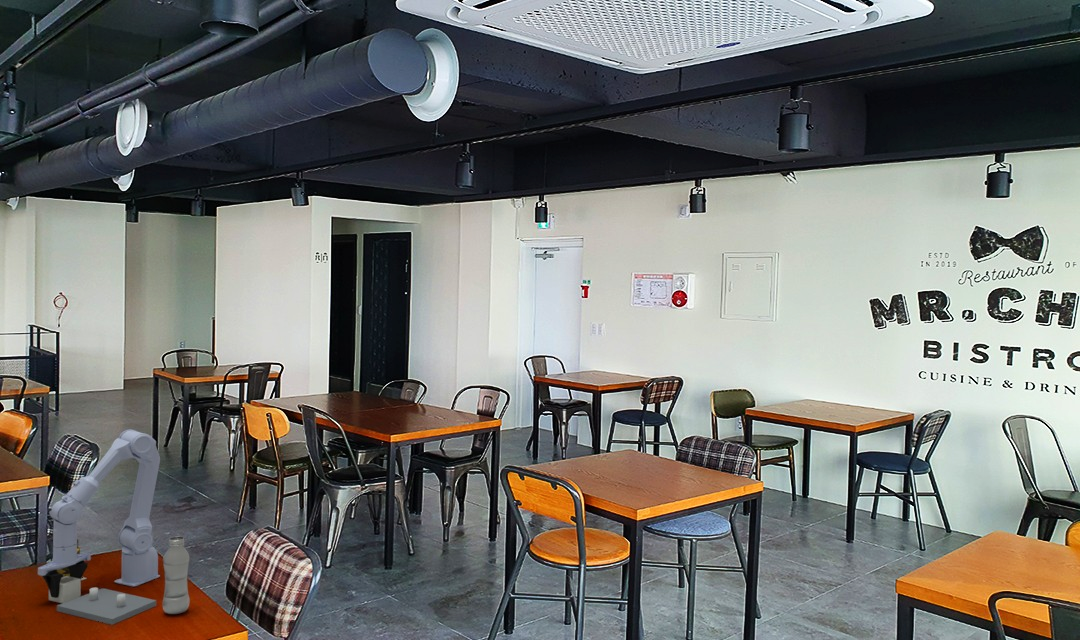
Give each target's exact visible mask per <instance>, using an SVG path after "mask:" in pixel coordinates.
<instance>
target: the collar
mask: <svg viewBox="0 0 1080 640" xmlns="http://www.w3.org/2000/svg"><path fill="white" fill-rule="evenodd" d="M81 581H82V580H81V579H79V578H75V577H70V576H65V577H62V578H61V580H60V586H59V597H57V598H54V597H51V594H50V591H49V590H48V601H51V602H54V603H55V602H56V603H60V604H62V603H65V602H68V601H70V600H73V599H75V598H78V597H81V596H82V595H81V592H82V591H81V589H82V588H81V587H82V583H81Z"/></svg>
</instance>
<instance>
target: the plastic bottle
mask: <svg viewBox="0 0 1080 640" xmlns="http://www.w3.org/2000/svg"><path fill="white" fill-rule="evenodd" d="M184 545H185V537H184V536H172V537H169V539H168V547H169V548H168V549H167V550H166V552H165V553H164V555H163V558H162V563H163V569H164V594H163V599H162V605H161V606H162V611H164V613H165V614H168V615H179V614H183V613H185V612H186V611H187V610H188V609H189V606H190V603H191V602H190V595H189V589H188V570H189V563H190V554H189V552H188V551H187V549H186V547H184Z"/></svg>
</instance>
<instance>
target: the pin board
mask: <svg viewBox="0 0 1080 640" xmlns="http://www.w3.org/2000/svg"><path fill="white" fill-rule="evenodd" d="M154 607H157V599H151V598H148V597H144V596H138V595H134V594H130V593H125V592H121V591H117V590H112V589H108V588H104V587H103V588H99V587H91V588H89V593H86V594H84V595H81V597H78V598H75V599H73V600H70V601H68V602H65V603H60V604H57V605H56V612H59V613H63V614H68V615H71V616H75V617H79V618H83V619H86V620H90V621H91V620H92V621H96V622H98V621H99V623H102V622H103V624H106V625H111V626H113V625H115V624H117V623H120V622H123V621H125V620H127V619H130V618H131V617H134V616H136V615H138V614H140V613H143V612H145V611H148V610H150V609H153V608H154Z"/></svg>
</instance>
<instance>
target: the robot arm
mask: <svg viewBox="0 0 1080 640" xmlns="http://www.w3.org/2000/svg"><path fill="white" fill-rule="evenodd" d="M132 458H134V459H135V460H136V461H137V462H138V463H139V465H138V470H137V475H136V480H135V484H134V485H135V486H134V490H133V496H132V499H131V501H132V502H131V505H130V510H129V516H128V517H127V518H126V519H125V520H124V523H123V526H122V528H121V529H120V531H119V533H118V536H117V540H118V542H119V544H120V545H121V546H122V547H121V578H119V579H116V580H114V584H115V583H116V584H120V585H123V586H128V587H138V586H140V585H143V584H144V583H147V582H150V581H153V580H154V579H155V580H156V579H158V578H159V577H161V575H160V574H159V554H158V551H157V549H156V548H155V547H154V546H153V544H154V536H153V533H152V532H153V524H152V523H151V520H150V515H151V511H152V505H153V499H154V495H155V489H156V485H157V479H158V474H159V468H160V464H161V457H160V453H159V451H158V448H157V441H156V440H155V439H154V438H153V437H152V435H150V434H148V433H143V432H140V431H138V430H135V429H125V430H124V431H122V432H121V433H120V434H119V437H117V438H116V439H115V440H113V441H112V444H111V446H110V448H109V449H108V450H107V452H106V453H105V454H104V456H103V457H102V458H101V459H100V461H99V462H98V463H97V465H96V466H95V467H94V468H93V469H92V471H91V472H90V473H89V475H87V476H82V477H80V478H79V479H75V481H74V482H73V484H74V485H73V486H72V487H71V488H70V490H69V491H68V492H66V494H65V495H63V496H62V497H61V499H60V500H59V501H56V502H55V503H53V505H52V507H51V510H49V513H48V514H49V516H50V517H51V518H52V520H53V529H52V530H53V531H52V540H53V541H52V559H51V561H50V562H48V563H46V564H44V565H41V566H39V567H37V575H38V576H40V577H42V578H43V580H44V582H45V583H46V585H47V588H48V592H49V591H50V594H51V597H54V598H57V597H59V586H60V580H61V577H62V575H63V574H60V573H58V572H57V570H59V569H62V568H65V567H68V569H69V573H70V577H75V578H79V579H81V578H82V577H84V574H85V571H86V570H87V569H88V565H89V563H88V561H91V559H92V557H91V556H92V554H91V552H86V551H85V552H82V553H81V552H80V554H77V539H78V520H79V519H80V518H82V511H83V509H84V507H85V506H86V505H87V504H88V503H89V502H90V501H91V499H92V498H93V497H94V496H95V495H96V493H98V491H99V490H100V482H101V481H103V479H104V478H105V477H106V476H107V475H108V474H109V473H110V472H111V471H112V470H113V469H114V468H115V467H116V466H117V465H118V464H119V463H120V461H124V460H129V459H132ZM86 561H87V562H86Z"/></svg>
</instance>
